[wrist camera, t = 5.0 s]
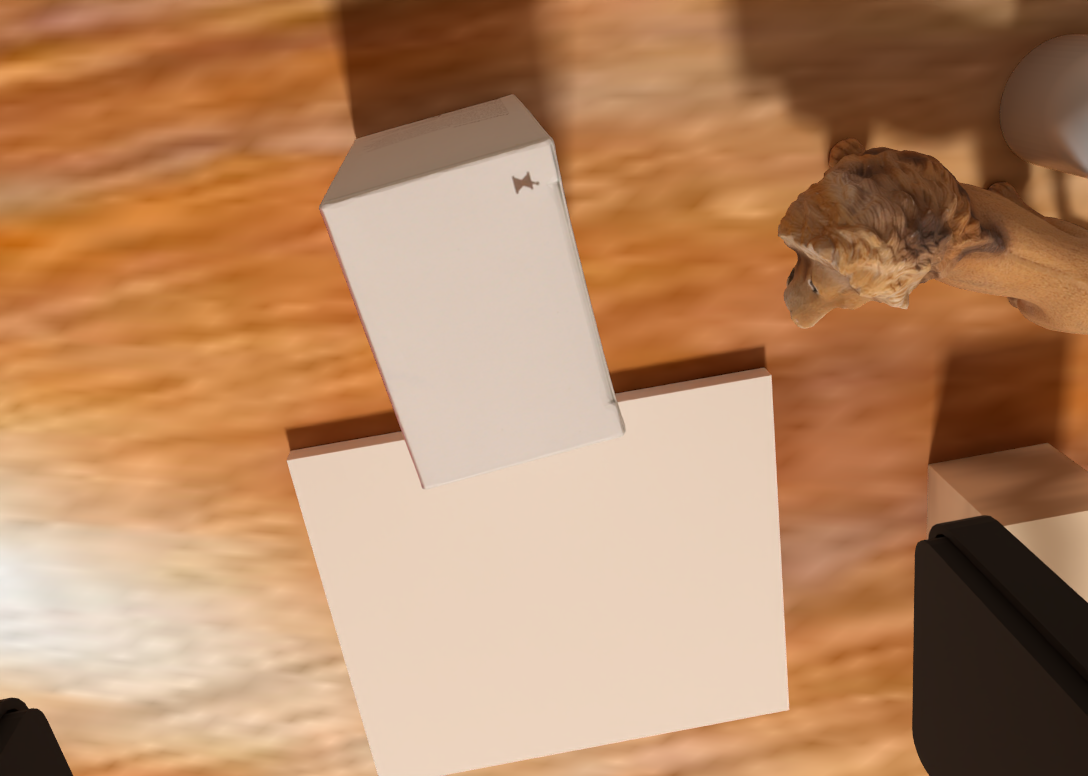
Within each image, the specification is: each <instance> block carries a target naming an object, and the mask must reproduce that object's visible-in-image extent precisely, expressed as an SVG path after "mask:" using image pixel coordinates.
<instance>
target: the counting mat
mask: <svg viewBox="0 0 1088 776" xmlns="http://www.w3.org/2000/svg"><path fill="white" fill-rule="evenodd" d="M615 395H616V399H617V402H618V405H619V408H620V412H621V415H622V418H623V420H624V423H625V428H626V432H625V434H624V435H623V436H622V437H619V438H615V439H611V440H608V441H604V442H600V443H597V444H593V445H589V446H586V447H582V448H578V449H575V450H571V451H567V452H564V453H560V454H556V455H552V456H549V457H545V458H541V459H538V460H534V461H530V462H527V463H523V464H519V465H516V466H512V467H508V468H505V469H501V470H497V471H493V472H490V473H486V474H482V475H479V476H475V477H471V478H468V479H464V480H460V481H457V482H453V483H449V484H446V485H442V486H438V487H435V488H431V489H428V490H425V489H422V486H421V483H420V480H419V477H418V474H417V471H416V469H415V466H414V463H413V461H412V458H411V456H410V453H409V450H408V448H407V445H406V442H405V440H404V437H403V434H402V431H400V432H394V433H389V434H383V435H377V436H372V437H366V438H360V439H355V440H349V441H343V442H338V443H332V444H326V445H321V446H315V447H309V448H303V449H298V450H292V451H290V453H289V456H288V459H287V463H288V466H289V470H290V473H291V477H292V480H293V484H294V487H295V491H296V494H297V497H298V501H299V504H300V508H301V511H302V515H303V518H304V522H305V525H306V529H307V532H308V535H309V539H310V542H311V546H312V549H313V553H314V556H315V560H316V563H317V566H318V570H319V573H320V577H321V580H322V584H323V587H324V591H325V594H326V597H327V601H328V604H329V608H330V611H331V615H332V618H333V622H334V625H335V629H336V632H337V635H338V639H339V642H340V646H341V649H342V653H343V656H344V660H345V663H346V666H347V670H348V673H349V677H350V680H351V684H352V687H353V691H354V694H355V697H356V701H357V704H358V708H359V711H360V715H361V718H362V722H363V725H364V729H365V732H366V735H367V739H368V742H369V746H370V749H371V753H372V756H373V760H374V763H375V766H376V770H377V773H378V776H442V775H448V774H453V773H458V772H464V771H469V770H474V769H479V768H485V767H490V766H495V765H501V764H506V763H511V762H516V761H522V760H527V759H532V758H538V757H543V756H548V755H553V754H559V753H564V752H569V751H574V750H580V749H585V748H590V747H596V746H601V745H606V744H611V743H617V742H622V741H627V740H633V739H638V738H643V737H648V736H654V735H659V734H664V733H670V732H675V731H680V730H685V729H691V728H696V727H701V726H707V725H712V724H717V723H722V722H728V721H733V720H738V719H743V718H749V717H754V716H759V715H765V714H770V713H775V712H780V711H786V710H789V698H788V680H787V661H786V642H785V623H784V604H783V586H782V567H781V548H780V529H779V510H778V492H777V473H776V454H775V435H774V416H773V398H772V379H771V374H770V373H769V372H768V371H767V370H766V369H765V368H759V369H753V370H747V371H741V372H736V373H730V374H724V375H719V376H713V377H707V378H702V379H696V380H690V381H685V382H679V383H673V384H668V385H662V386H656V387H650V388H645V389H639V390H633V391H628V392H622V393H616V394H615Z"/></svg>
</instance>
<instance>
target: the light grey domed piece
mask: <svg viewBox="0 0 1088 776" xmlns="http://www.w3.org/2000/svg"><path fill="white" fill-rule="evenodd" d="M1000 126H1001V131H1002V134H1003V137H1004V139H1005V141H1006V143H1007V145H1008V146H1009V148H1010V149H1011V150H1012V151H1013V153H1014V154H1015V155H1017V156H1018V157H1019V158H1021V159H1022V160H1024V161H1026V162H1028V163H1031V164H1034V165H1038V166H1042V167H1046V168H1049V169H1053V170H1057V171H1061V172H1065V173H1068V174H1072V175H1076V176H1080V177H1084V178H1088V35H1087V34H1068V35H1062V36H1058V37H1055V38H1053V39H1050V40H1048V41H1046V42H1044V43H1042V44H1040V45H1039V46H1037V47H1036V48H1035V49H1033V50H1032V51H1031V52H1030V53H1029V54H1027V55H1026V56H1025V57H1024V58H1023V59H1022V61H1021V62H1020V63H1019V64H1018V65H1017V67H1016V68H1015V69H1014V71H1013V73H1012V74H1011V76H1010V78H1009V80H1008V82H1007V84H1006V86H1005V89H1004V92H1003V95H1002V99H1001V103H1000Z"/></svg>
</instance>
